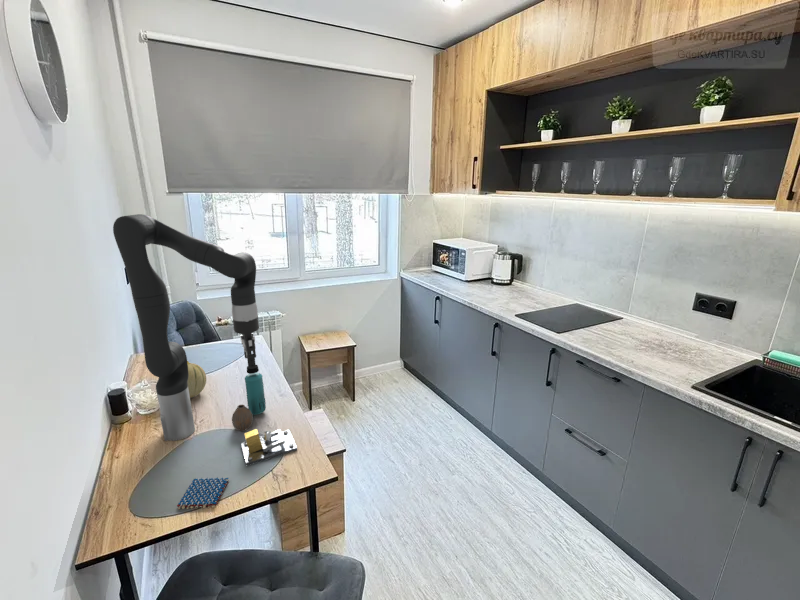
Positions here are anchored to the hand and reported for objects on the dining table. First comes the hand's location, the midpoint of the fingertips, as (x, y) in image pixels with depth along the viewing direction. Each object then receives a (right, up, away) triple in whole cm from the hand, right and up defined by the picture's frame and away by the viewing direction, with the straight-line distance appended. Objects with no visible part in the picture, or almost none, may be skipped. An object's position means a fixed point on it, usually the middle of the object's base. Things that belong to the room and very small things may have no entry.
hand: (250, 362), depth 126 cm
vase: (-7, -26, +12) cm, 29 cm away
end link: (+5, -27, +1) cm, 28 cm away
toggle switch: (+6, -29, +1) cm, 29 cm away
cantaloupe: (-38, -19, +32) cm, 53 cm away
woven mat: (-6, -35, -18) cm, 40 cm away
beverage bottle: (-5, -23, +21) cm, 32 cm away
